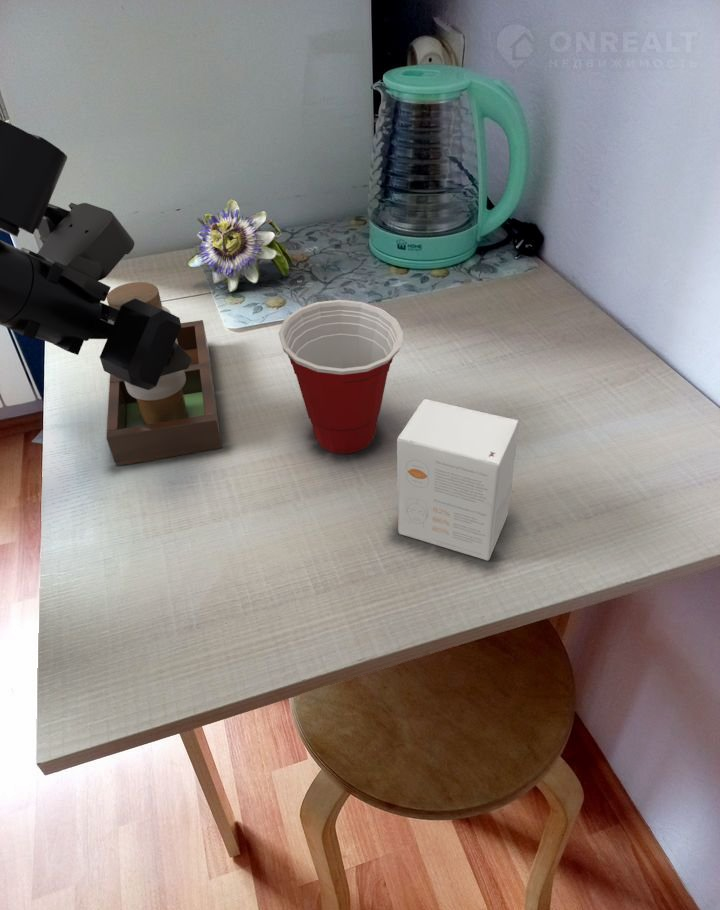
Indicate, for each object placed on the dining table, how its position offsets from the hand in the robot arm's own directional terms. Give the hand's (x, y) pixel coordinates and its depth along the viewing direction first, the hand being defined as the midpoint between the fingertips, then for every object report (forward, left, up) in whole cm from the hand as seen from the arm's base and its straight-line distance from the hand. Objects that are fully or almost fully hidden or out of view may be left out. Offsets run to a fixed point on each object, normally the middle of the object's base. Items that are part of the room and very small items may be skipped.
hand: (155, 347), depth 66 cm
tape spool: (-1, -1, -8) cm, 8 cm away
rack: (-1, +4, -9) cm, 10 cm away
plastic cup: (+16, -7, -9) cm, 20 cm away
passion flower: (+10, +30, -9) cm, 33 cm away
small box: (+22, -21, -9) cm, 32 cm away
